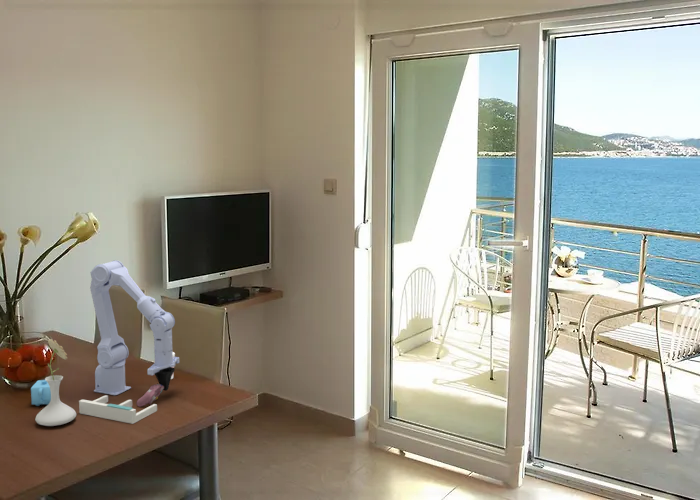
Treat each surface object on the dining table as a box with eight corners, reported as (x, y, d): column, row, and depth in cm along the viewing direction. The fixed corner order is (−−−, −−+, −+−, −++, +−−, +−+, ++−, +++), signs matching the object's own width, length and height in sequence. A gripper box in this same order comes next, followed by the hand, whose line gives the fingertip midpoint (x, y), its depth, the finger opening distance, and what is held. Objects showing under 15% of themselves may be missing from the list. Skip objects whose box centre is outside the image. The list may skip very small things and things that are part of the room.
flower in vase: (78, 425, 205) (74, 344, 202) (36, 432, 200) (31, 348, 197) (74, 410, 217) (70, 333, 213) (34, 416, 212) (30, 337, 208)
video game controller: (146, 412, 220) (155, 394, 219) (134, 405, 221) (143, 387, 219) (160, 401, 230) (168, 384, 228) (148, 394, 230) (156, 377, 229)
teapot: (42, 395, 230) (40, 373, 229) (61, 395, 231) (60, 373, 229) (30, 409, 218) (29, 386, 217) (50, 408, 219) (49, 385, 218)
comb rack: (79, 413, 215) (78, 400, 214) (105, 401, 225) (104, 388, 225) (132, 423, 207) (132, 410, 207) (157, 410, 218) (156, 397, 217)
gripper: (159, 357, 220) (160, 398, 222) (186, 345, 233) (187, 384, 235) (141, 354, 222) (142, 395, 224) (169, 343, 236) (170, 381, 237)
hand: (164, 389), depth 230 cm, fingers closed
